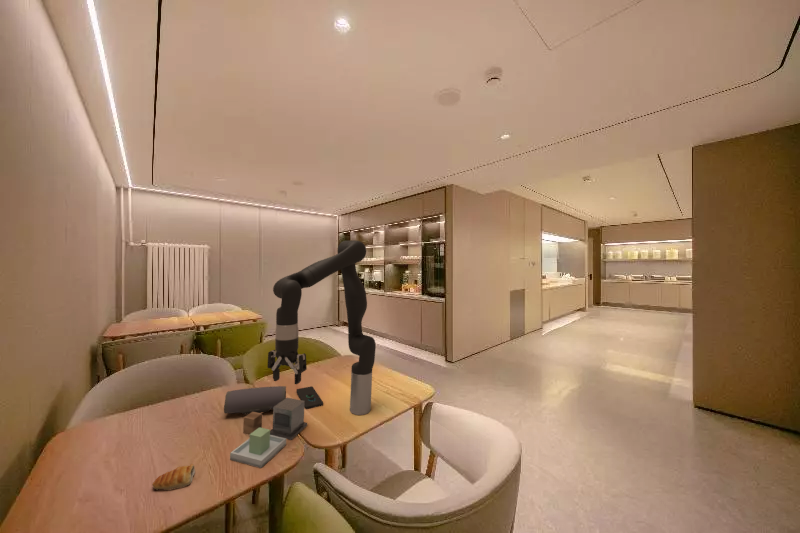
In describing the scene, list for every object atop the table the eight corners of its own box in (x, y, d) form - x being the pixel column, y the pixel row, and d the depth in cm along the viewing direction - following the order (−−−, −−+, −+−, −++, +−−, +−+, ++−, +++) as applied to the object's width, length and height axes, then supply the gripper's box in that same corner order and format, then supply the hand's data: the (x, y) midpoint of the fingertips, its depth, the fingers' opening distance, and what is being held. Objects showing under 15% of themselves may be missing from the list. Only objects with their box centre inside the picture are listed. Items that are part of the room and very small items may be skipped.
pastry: (148, 497, 76) (149, 483, 76) (156, 480, 82) (157, 467, 82) (191, 486, 81) (192, 472, 81) (196, 470, 87) (196, 458, 87)
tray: (257, 438, 103) (257, 431, 103) (286, 445, 100) (286, 438, 100) (229, 459, 92) (230, 452, 92) (261, 468, 88) (261, 460, 88)
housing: (285, 420, 115) (286, 396, 115) (307, 425, 113) (308, 400, 112) (268, 434, 105) (269, 407, 105) (291, 440, 103) (292, 412, 103)
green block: (258, 444, 98) (259, 427, 98) (269, 447, 97) (270, 429, 97) (248, 452, 94) (249, 434, 94) (259, 455, 93) (260, 437, 93)
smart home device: (305, 406, 124) (295, 388, 141) (305, 410, 124) (295, 392, 141) (324, 402, 129) (312, 385, 146) (323, 406, 129) (312, 389, 146)
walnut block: (252, 427, 110) (252, 411, 110) (261, 429, 109) (262, 413, 109) (243, 433, 106) (243, 417, 106) (252, 435, 105) (253, 419, 105)
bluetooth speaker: (285, 403, 129) (286, 381, 129) (284, 413, 120) (285, 390, 120) (228, 409, 122) (229, 386, 122) (222, 420, 113) (223, 396, 113)
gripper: (311, 335, 101) (310, 380, 102) (277, 331, 105) (277, 375, 105) (298, 341, 94) (297, 389, 94) (262, 337, 98) (262, 383, 98)
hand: (286, 381), depth 100 cm, fingers open, 8 cm apart
